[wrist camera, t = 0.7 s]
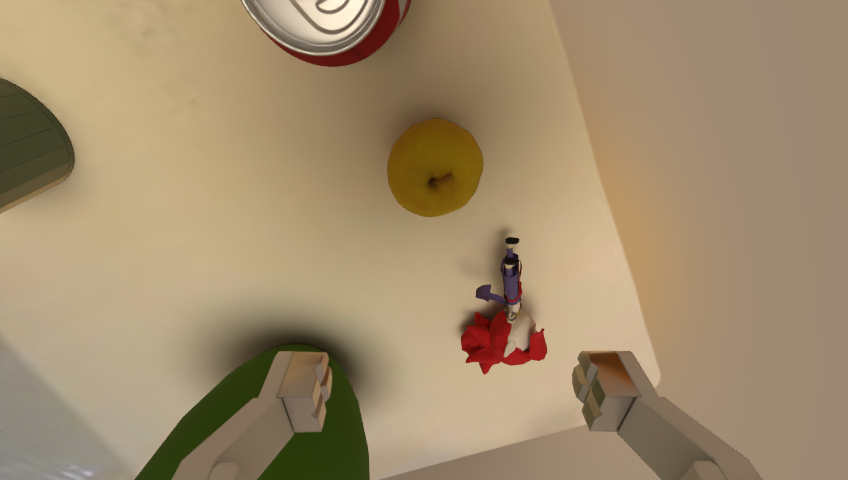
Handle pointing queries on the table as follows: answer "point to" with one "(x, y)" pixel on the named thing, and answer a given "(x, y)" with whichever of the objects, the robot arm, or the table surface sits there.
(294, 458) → the vase
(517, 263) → the figurine
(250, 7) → the soda can
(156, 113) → the table surface
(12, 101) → the green cup
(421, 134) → the apple
